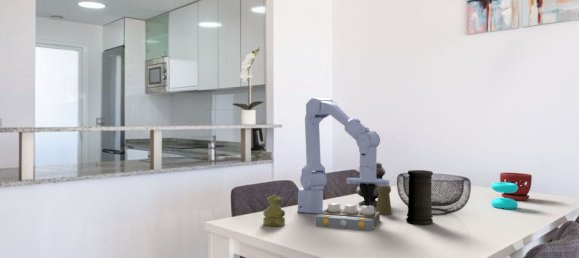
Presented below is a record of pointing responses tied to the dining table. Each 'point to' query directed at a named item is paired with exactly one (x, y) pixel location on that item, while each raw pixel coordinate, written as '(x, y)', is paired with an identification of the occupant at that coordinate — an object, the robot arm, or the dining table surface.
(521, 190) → the plant pot
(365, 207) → the right button
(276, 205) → the olive green tiered piece
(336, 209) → the left button
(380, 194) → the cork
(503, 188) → the donuts
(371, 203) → the apothecary jar
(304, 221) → the dining table surface
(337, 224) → the pattern card
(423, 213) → the container
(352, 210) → the middle button
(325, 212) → the button board
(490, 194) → the dining table surface
